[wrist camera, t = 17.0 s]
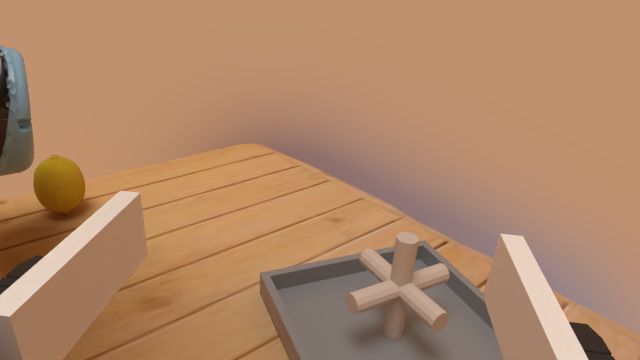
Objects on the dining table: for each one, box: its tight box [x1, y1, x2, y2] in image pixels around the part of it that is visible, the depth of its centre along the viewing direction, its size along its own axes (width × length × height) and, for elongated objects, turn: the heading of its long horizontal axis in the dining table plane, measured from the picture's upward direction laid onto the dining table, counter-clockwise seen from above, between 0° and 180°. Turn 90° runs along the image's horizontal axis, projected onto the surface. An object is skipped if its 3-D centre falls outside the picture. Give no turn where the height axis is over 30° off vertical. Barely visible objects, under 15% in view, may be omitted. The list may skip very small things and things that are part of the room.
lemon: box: [34, 155, 85, 214], centre depth 57 cm, size 6×6×8 cm
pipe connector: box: [346, 232, 449, 339], centre depth 39 cm, size 10×10×10 cm
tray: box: [260, 241, 503, 360], centre depth 41 cm, size 20×20×2 cm
